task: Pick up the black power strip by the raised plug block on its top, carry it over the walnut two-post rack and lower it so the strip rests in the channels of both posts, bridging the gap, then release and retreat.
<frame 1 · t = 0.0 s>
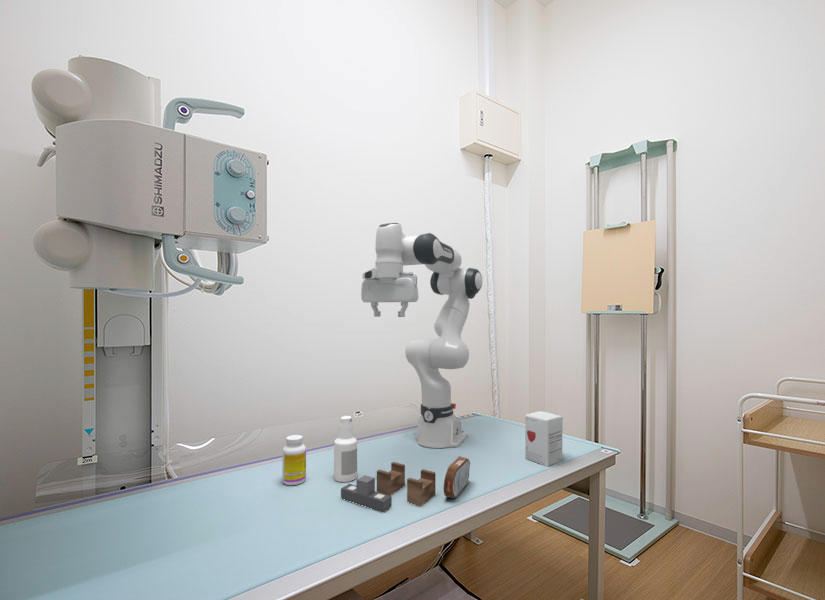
hand: (389, 316, 130), 48 cm above the table, tool pointing down, fingers open, 8 cm apart
power strip: (365, 503, 107), on the table
rack: (405, 493, 112), on the table
supplement box: (543, 460, 137), on the table
supplement bottle: (294, 482, 120), on the table
spray bottle: (345, 478, 122), on the table
tin: (457, 492, 113), on the table
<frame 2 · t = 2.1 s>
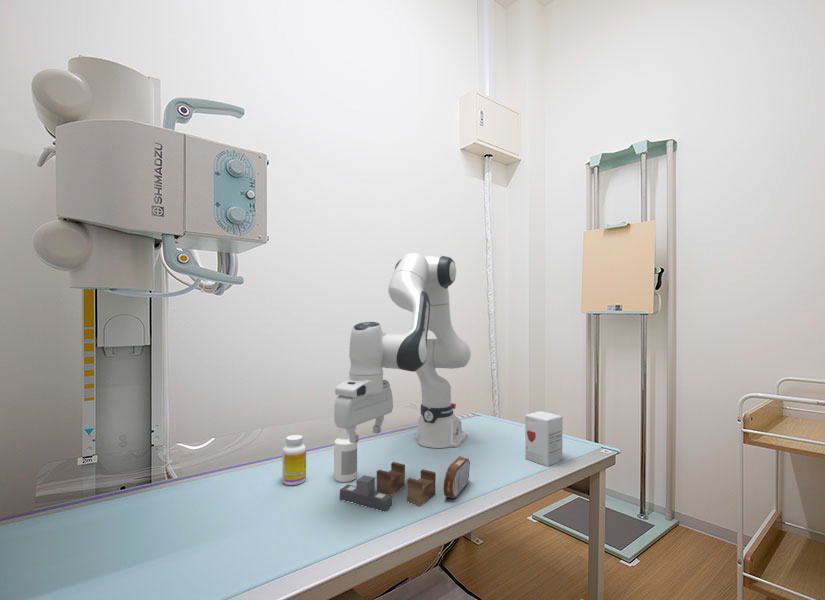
hand: (365, 437, 107), 17 cm above the table, tool pointing down, fingers open, 8 cm apart
nothing on the table moved.
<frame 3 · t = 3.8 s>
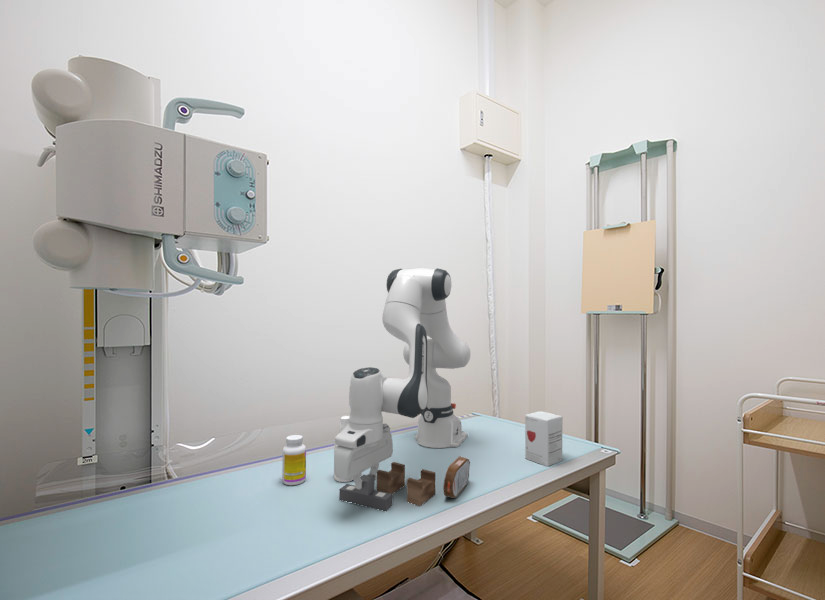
hand: (365, 484, 107), 5 cm above the table, tool pointing down, fingers closed on power strip, 4 cm apart
power strip: (365, 503, 107), on the table, touching gripper
everything else where it was.
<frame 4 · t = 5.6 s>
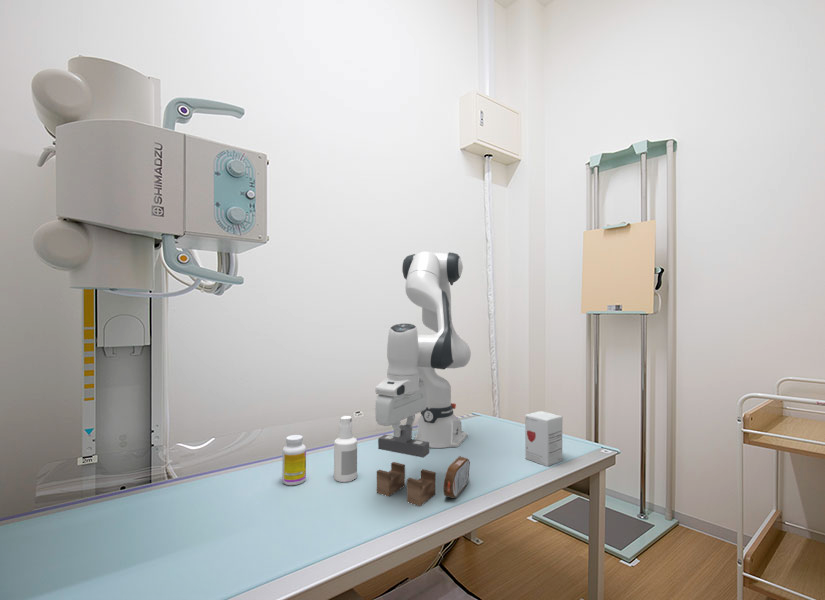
hand: (403, 433, 112), 16 cm above the table, tool pointing down, fingers closed on power strip, 4 cm apart
power strip: (403, 451, 112), point 12 cm above the table, touching gripper
everything else where it was.
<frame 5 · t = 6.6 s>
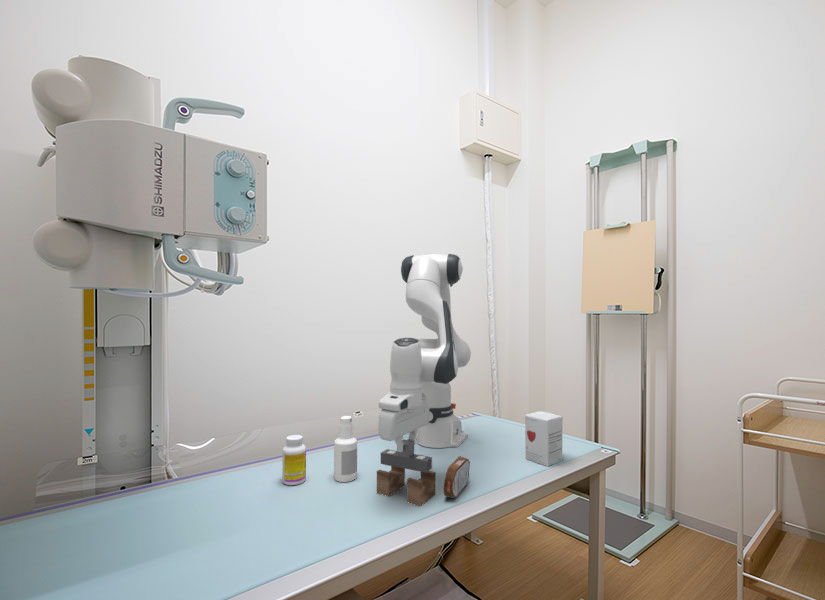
hand: (405, 448, 112), 12 cm above the table, tool pointing down, fingers closed on power strip, 4 cm apart
power strip: (405, 466, 112), point 8 cm above the table, touching gripper
everything else where it was.
when the fingers open (10 cm above the table, at t = 7.3 s): power strip drops 1 cm, resting on rack.
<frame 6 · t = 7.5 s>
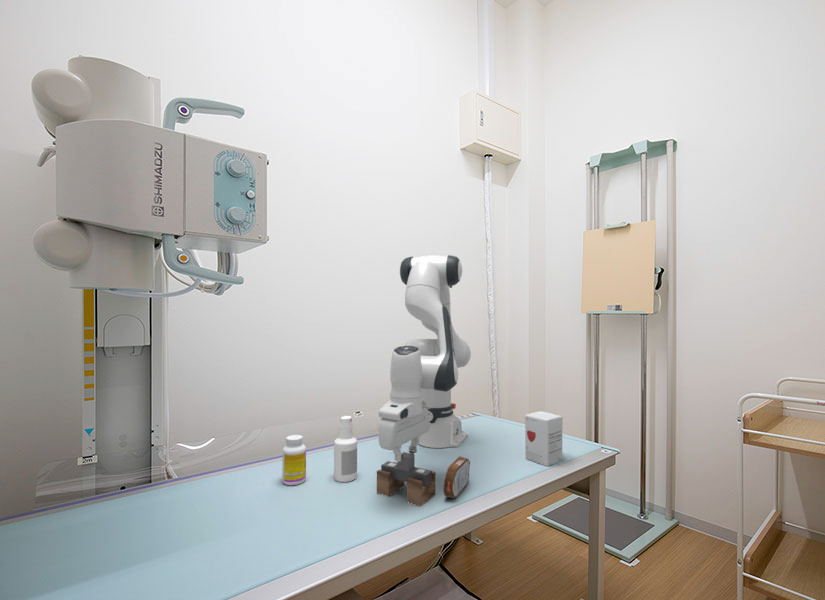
hand: (406, 456, 112), 10 cm above the table, tool pointing down, fingers open, 5 cm apart
power strip: (406, 478, 112), point 4 cm above the table, touching rack
everything else where it was.
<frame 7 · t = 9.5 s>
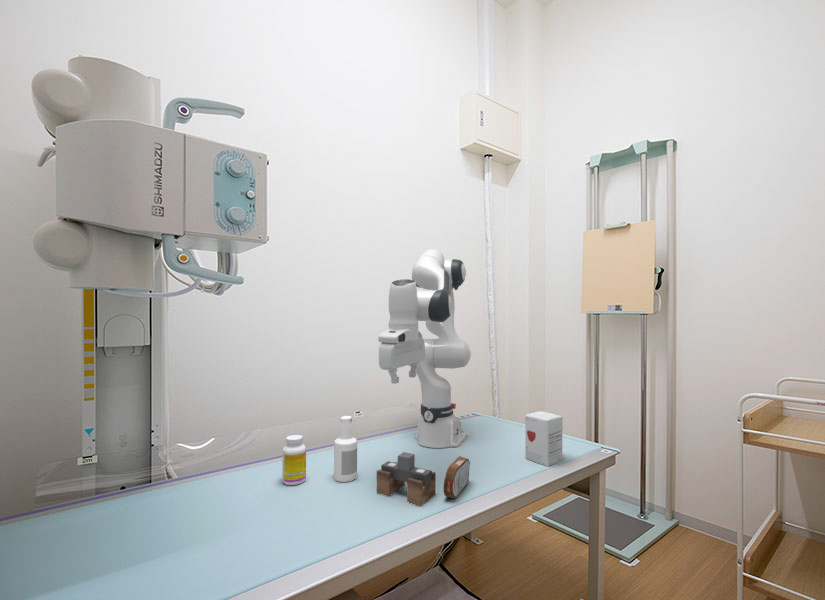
hand: (404, 380, 122), 29 cm above the table, tool pointing down, fingers open, 8 cm apart
nothing on the table moved.
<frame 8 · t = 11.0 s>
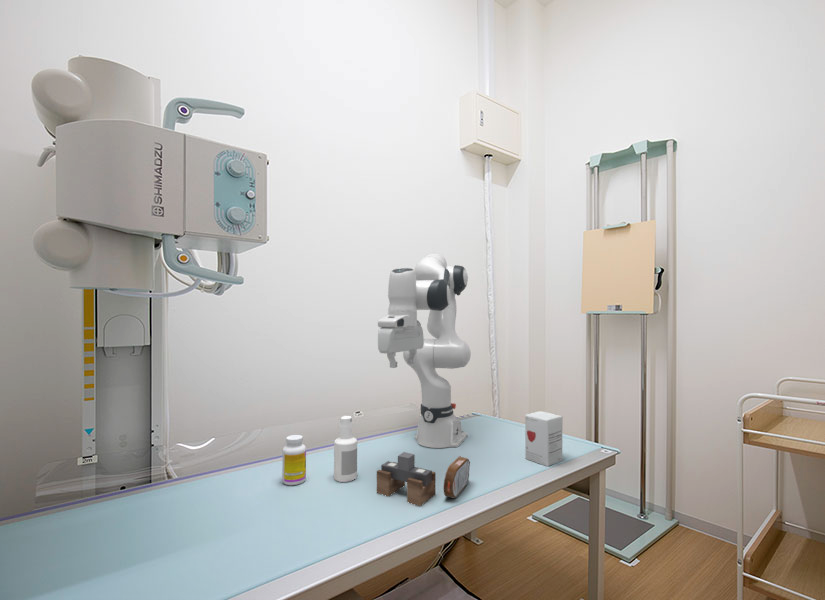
hand: (402, 365, 125), 33 cm above the table, tool pointing down, fingers open, 8 cm apart
nothing on the table moved.
at the end: power strip inside the target area on the rack (0.1 cm from its centre), point 4.0 cm above the rack's base; power strip tilted 0°; the gripper is holding nothing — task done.
